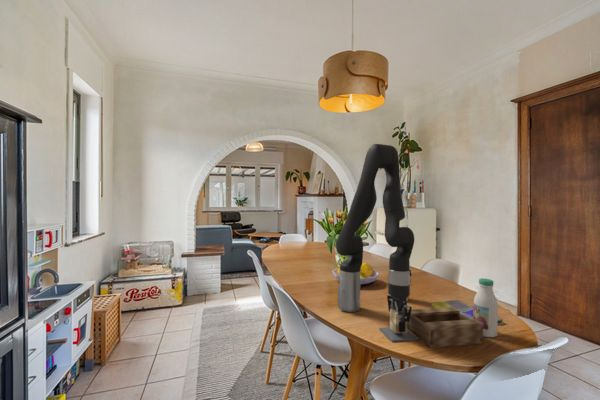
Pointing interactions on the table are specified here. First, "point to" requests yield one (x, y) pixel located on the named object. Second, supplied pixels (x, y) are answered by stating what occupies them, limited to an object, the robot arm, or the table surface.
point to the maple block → (396, 321)
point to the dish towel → (459, 308)
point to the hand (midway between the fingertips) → (398, 328)
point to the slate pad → (397, 335)
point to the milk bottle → (486, 308)
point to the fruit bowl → (366, 274)
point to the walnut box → (445, 327)
